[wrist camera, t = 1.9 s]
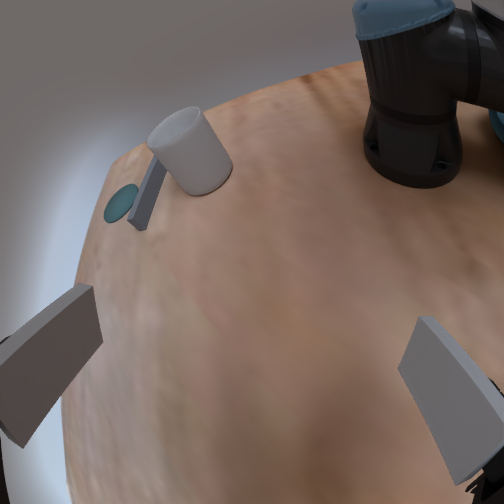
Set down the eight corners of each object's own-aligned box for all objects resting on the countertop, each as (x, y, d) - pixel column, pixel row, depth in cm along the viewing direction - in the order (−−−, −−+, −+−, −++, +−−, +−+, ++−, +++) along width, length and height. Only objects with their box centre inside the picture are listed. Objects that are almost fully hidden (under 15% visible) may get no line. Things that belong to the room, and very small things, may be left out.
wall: (165, 160, 54) (156, 149, 51) (171, 158, 53) (162, 147, 51) (139, 231, 45) (126, 220, 43) (145, 229, 45) (133, 218, 42)
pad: (125, 182, 57) (124, 181, 57) (145, 188, 52) (144, 187, 51) (99, 216, 55) (98, 215, 54) (115, 228, 49) (114, 227, 49)
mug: (228, 192, 41) (189, 135, 32) (167, 204, 46) (125, 160, 36) (238, 152, 46) (207, 99, 36) (182, 166, 50) (148, 123, 41)
